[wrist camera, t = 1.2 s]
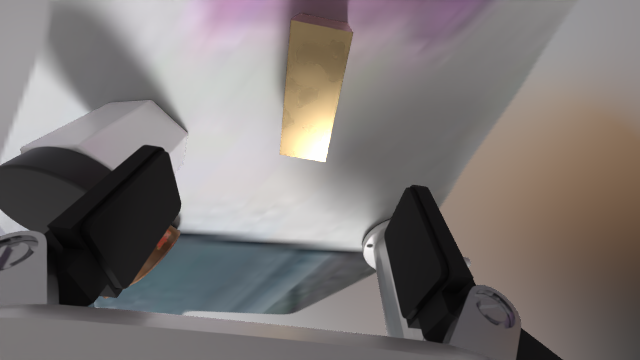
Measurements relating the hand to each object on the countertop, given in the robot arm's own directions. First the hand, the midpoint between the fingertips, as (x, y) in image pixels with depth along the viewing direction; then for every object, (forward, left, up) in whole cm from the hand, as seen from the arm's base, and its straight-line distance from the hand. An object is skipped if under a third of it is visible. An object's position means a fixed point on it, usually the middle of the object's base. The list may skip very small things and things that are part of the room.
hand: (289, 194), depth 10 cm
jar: (+17, +9, -17) cm, 25 cm away
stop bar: (0, 0, -17) cm, 17 cm away
